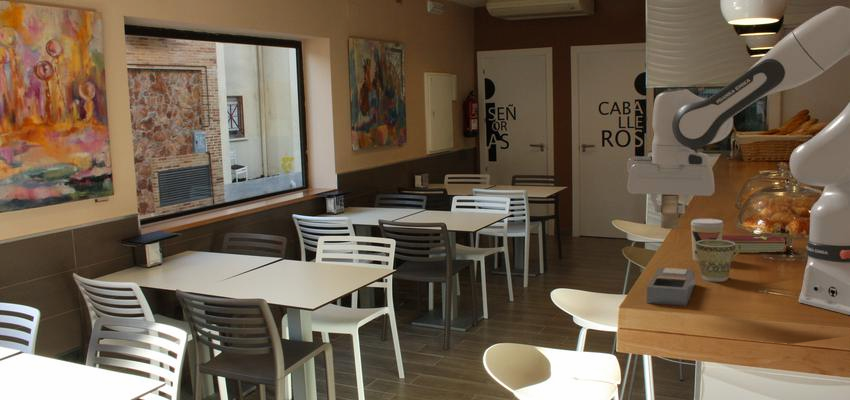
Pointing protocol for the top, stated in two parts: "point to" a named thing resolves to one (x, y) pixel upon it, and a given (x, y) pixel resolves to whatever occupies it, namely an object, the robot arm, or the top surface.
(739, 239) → the hardcover book
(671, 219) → the peg
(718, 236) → the coffee cup
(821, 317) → the top surface
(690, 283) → the grey slotted box
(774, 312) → the top surface
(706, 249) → the ceramic cup
